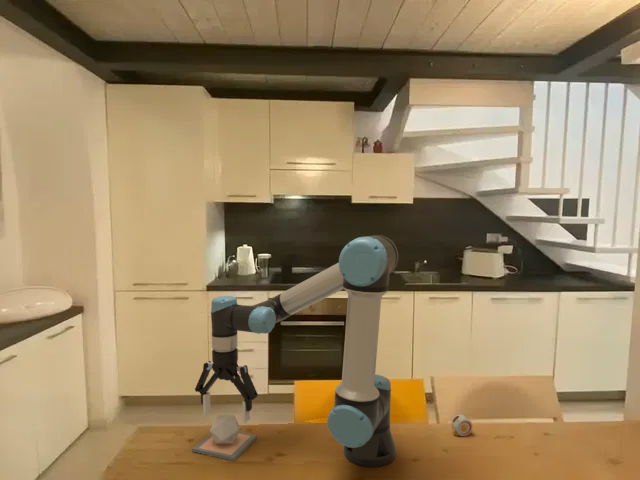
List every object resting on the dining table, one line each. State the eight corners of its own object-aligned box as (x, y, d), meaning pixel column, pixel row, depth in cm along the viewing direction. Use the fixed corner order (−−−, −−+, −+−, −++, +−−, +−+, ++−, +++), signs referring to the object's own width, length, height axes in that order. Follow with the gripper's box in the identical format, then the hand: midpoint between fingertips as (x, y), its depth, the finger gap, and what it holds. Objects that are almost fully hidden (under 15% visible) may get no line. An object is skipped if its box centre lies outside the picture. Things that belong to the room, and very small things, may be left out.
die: (225, 454, 133) (244, 424, 136) (201, 437, 135) (220, 407, 137) (230, 450, 141) (248, 421, 144) (207, 434, 142) (225, 406, 145)
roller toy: (474, 436, 146) (474, 419, 146) (455, 438, 145) (456, 420, 144) (467, 430, 150) (467, 412, 150) (449, 431, 149) (449, 414, 149)
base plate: (256, 438, 144) (256, 435, 144) (233, 461, 130) (233, 457, 130) (218, 430, 148) (218, 427, 148) (192, 452, 135) (191, 448, 135)
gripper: (268, 348, 137) (269, 418, 138) (196, 341, 145) (198, 407, 146) (256, 356, 130) (257, 429, 131) (182, 348, 138) (183, 417, 139)
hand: (226, 417), depth 139 cm, fingers open, 13 cm apart
